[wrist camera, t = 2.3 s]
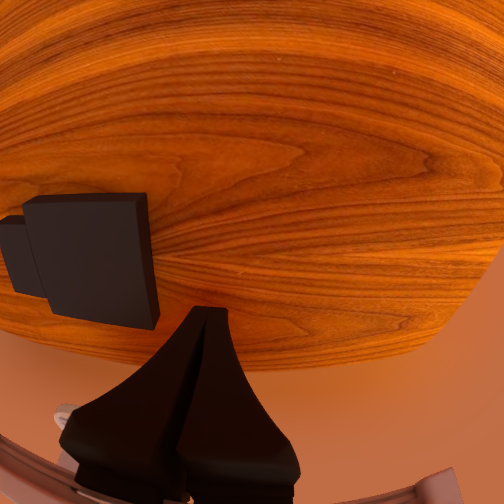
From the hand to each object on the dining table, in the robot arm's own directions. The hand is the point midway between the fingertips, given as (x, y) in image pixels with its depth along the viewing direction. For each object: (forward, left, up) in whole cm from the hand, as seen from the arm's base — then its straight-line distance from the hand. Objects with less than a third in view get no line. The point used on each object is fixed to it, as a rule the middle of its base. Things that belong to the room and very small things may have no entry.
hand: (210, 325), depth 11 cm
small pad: (0, +10, -5) cm, 11 cm away
